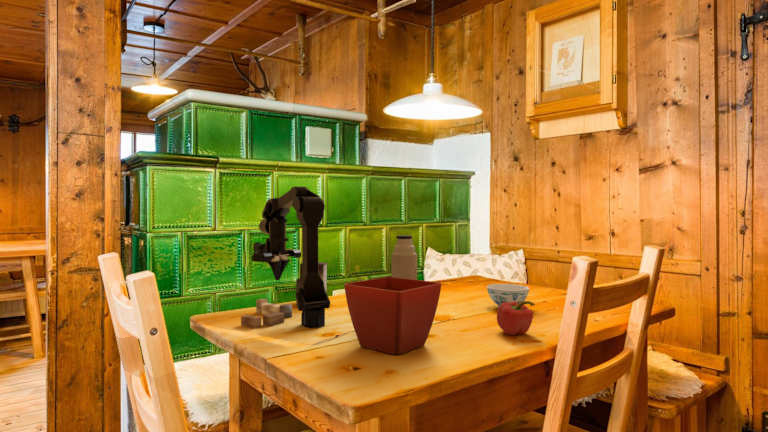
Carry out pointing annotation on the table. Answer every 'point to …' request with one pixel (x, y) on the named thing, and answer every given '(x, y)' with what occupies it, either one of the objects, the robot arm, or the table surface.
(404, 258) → the thermos bottle
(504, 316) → the vegetable
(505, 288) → the chinaware
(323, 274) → the coffee box
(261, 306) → the leg
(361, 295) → the plant pot
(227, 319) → the table surface
